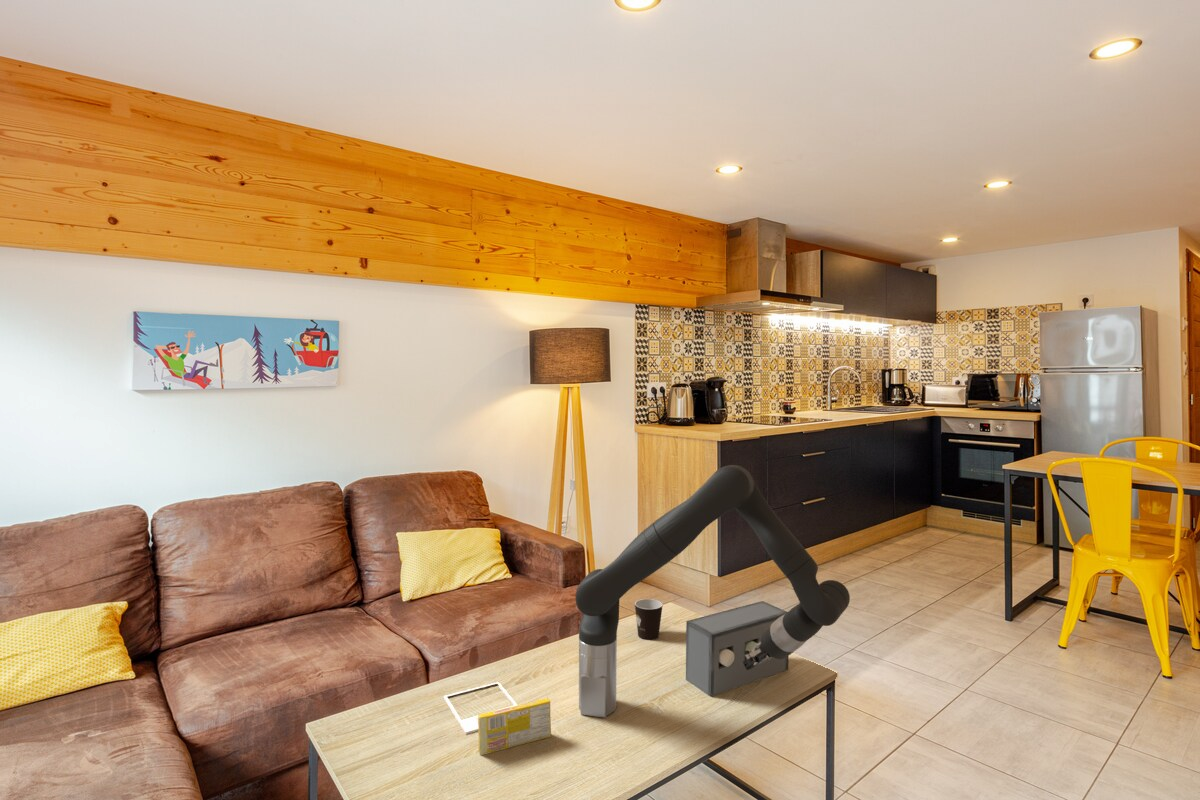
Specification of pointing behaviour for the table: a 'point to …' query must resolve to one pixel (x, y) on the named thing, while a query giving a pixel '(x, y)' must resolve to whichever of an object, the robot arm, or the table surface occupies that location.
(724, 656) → the cream button
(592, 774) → the table surface
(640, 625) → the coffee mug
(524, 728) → the candy box
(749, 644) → the sage button
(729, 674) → the console
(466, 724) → the photo frame
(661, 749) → the table surface
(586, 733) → the table surface
